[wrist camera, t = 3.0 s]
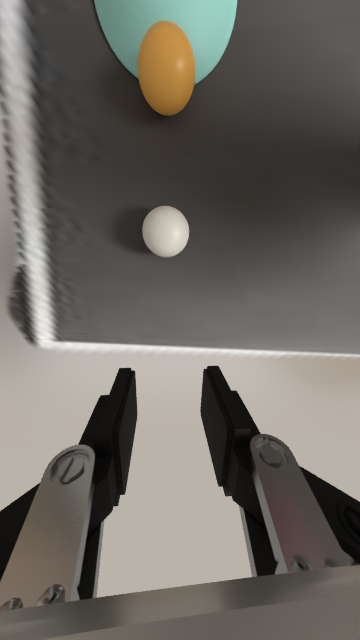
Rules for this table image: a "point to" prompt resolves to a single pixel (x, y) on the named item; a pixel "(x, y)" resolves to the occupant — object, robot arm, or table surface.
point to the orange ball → (166, 67)
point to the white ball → (165, 231)
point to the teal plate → (176, 6)
